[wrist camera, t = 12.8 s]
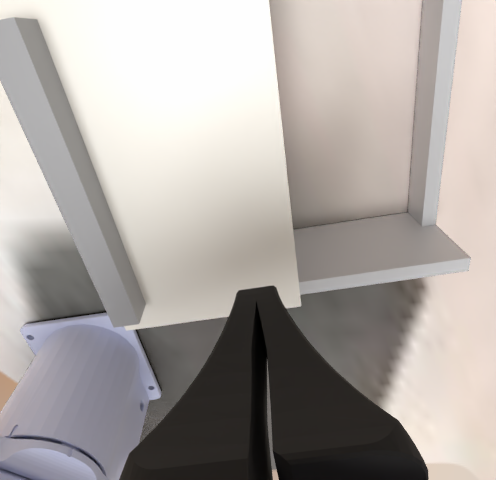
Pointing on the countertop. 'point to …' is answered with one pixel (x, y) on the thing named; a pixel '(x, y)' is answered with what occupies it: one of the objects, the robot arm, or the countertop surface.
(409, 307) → the countertop surface
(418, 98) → the housing
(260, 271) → the lid
